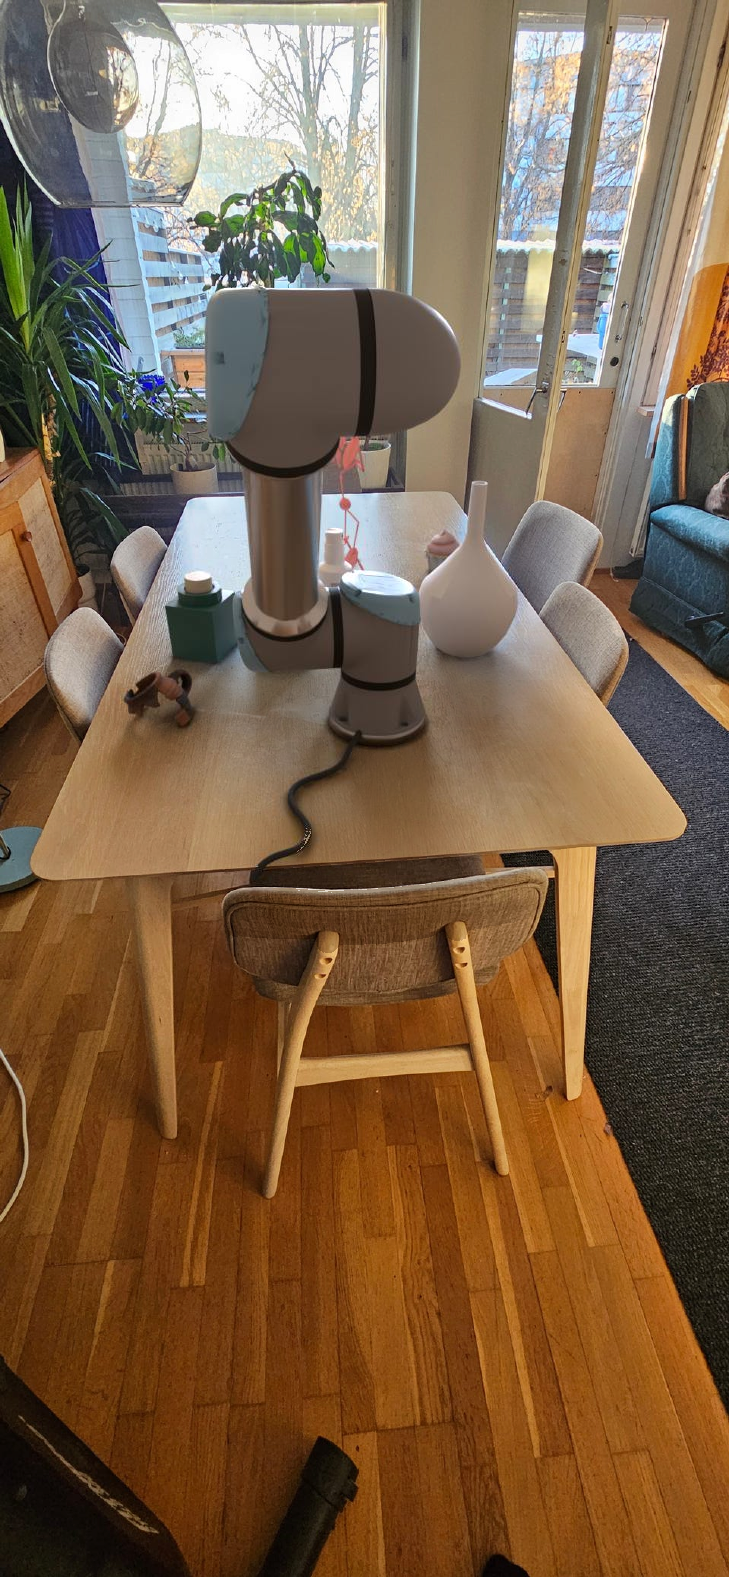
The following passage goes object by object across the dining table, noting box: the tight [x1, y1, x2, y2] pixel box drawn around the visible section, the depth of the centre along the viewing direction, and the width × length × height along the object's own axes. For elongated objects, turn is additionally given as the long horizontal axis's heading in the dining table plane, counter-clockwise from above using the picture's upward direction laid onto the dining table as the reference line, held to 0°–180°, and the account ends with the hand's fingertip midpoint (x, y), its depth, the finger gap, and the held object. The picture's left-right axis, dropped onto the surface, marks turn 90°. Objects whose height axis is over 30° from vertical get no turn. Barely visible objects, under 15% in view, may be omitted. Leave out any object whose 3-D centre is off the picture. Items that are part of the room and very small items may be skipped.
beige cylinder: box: [183, 570, 213, 593], centre depth 128 cm, size 5×5×3 cm
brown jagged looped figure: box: [123, 668, 194, 727], centre depth 115 cm, size 12×10×8 cm
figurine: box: [331, 436, 365, 571], centre depth 161 cm, size 15×26×35 cm, turn 12°
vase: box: [418, 480, 519, 658], centre depth 129 cm, size 18×18×30 cm
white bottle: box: [318, 527, 353, 587], centre depth 142 cm, size 7×7×18 cm
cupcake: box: [423, 529, 460, 574], centre depth 168 cm, size 9×9×10 cm
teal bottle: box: [164, 580, 238, 664], centre depth 132 cm, size 10×9×12 cm
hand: (280, 586), depth 127 cm, fingers closed
